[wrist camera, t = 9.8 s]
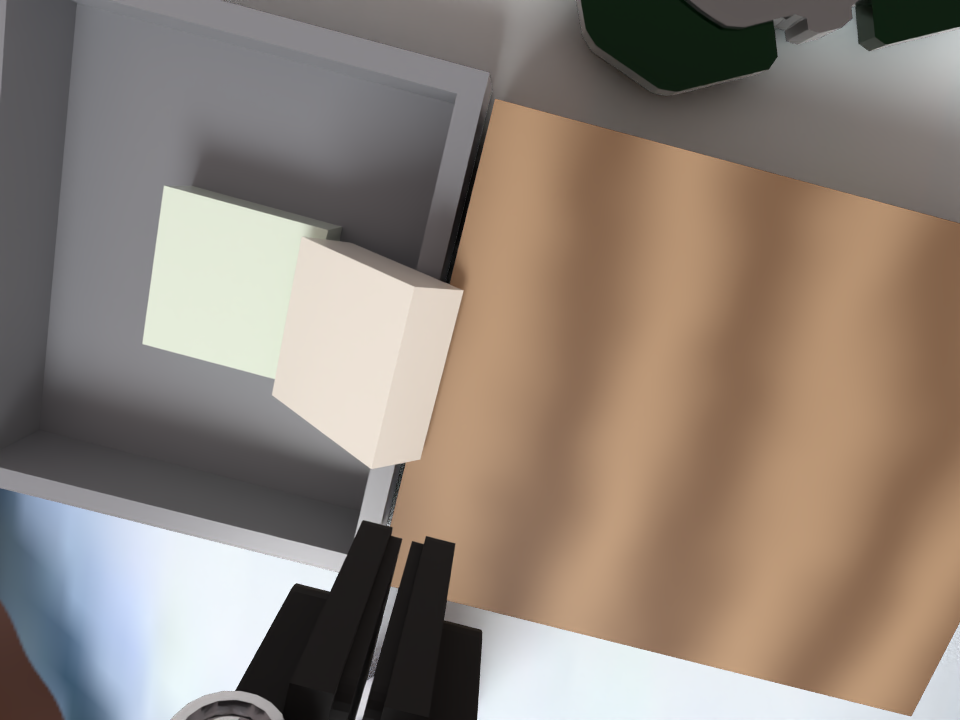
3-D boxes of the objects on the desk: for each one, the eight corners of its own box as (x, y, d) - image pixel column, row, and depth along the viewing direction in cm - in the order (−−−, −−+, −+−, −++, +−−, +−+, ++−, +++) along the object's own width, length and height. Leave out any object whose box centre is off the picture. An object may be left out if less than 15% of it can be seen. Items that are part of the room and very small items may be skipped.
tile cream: (463, 290, 25) (414, 286, 23) (420, 459, 26) (371, 469, 24) (351, 242, 29) (301, 236, 27) (320, 391, 31) (271, 394, 29)
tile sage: (163, 185, 27) (191, 185, 30) (142, 343, 29) (170, 332, 32) (327, 230, 28) (342, 226, 30) (296, 384, 29) (312, 370, 32)
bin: (492, 90, 29) (489, 72, 24) (385, 530, 34) (367, 579, 30) (63, -26, 28) (-18, -64, 24) (25, 439, 34) (-46, 476, 30)
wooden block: (1016, 255, 30) (1140, 271, 24) (843, 628, 35) (911, 716, 29) (497, 116, 29) (494, 98, 23) (398, 515, 34) (376, 582, 28)
